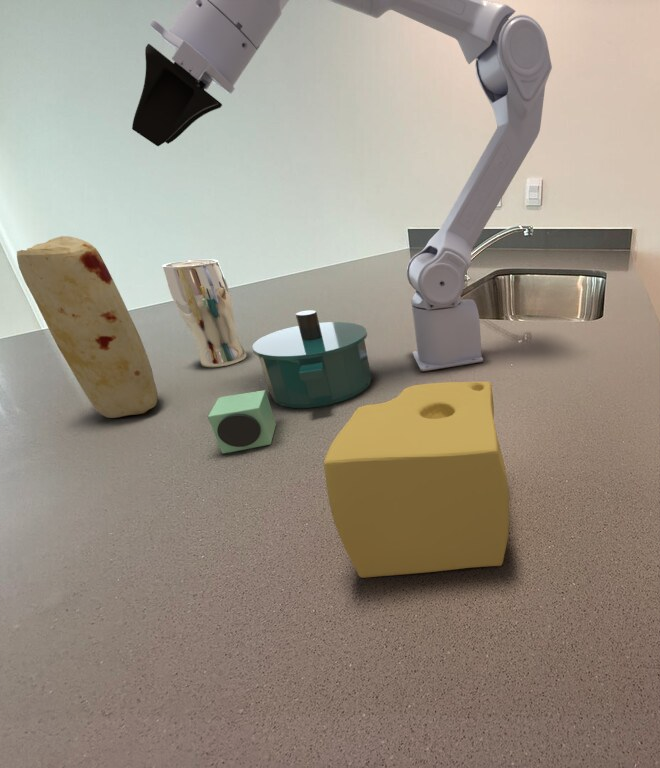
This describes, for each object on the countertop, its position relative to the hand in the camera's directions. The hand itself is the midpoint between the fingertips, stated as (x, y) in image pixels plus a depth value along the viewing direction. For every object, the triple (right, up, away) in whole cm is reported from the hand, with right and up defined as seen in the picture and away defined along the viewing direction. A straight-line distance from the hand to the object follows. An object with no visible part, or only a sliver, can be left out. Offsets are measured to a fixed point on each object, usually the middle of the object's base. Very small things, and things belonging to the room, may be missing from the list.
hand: (151, 137), depth 41 cm
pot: (+11, -25, +14) cm, 31 cm away
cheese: (+31, -36, -9) cm, 49 cm away
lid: (+11, -20, +11) cm, 25 cm away
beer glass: (-9, -22, +23) cm, 33 cm away
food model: (-10, -28, +9) cm, 32 cm away
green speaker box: (+9, -31, +2) cm, 32 cm away
